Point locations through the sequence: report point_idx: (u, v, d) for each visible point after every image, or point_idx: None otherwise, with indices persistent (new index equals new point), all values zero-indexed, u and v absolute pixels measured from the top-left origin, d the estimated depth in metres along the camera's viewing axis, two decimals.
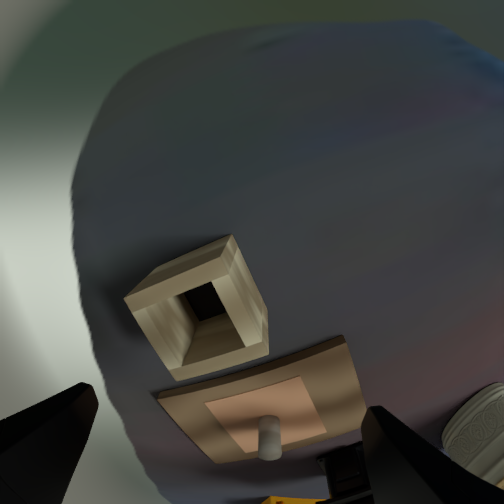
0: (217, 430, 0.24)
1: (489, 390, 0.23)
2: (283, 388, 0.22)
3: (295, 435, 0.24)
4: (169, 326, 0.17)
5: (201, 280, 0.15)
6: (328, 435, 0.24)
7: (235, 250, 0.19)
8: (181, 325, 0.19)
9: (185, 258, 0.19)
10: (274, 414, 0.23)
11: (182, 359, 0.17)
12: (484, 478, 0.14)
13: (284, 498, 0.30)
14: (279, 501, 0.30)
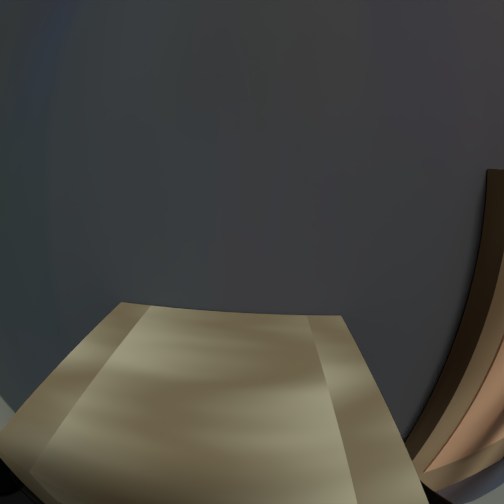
0: (472, 458, 0.09)
1: None
2: None
3: None
4: None
5: None
6: None
7: (128, 330, 0.06)
8: None
9: None
10: None
11: None
12: None
13: None
14: None
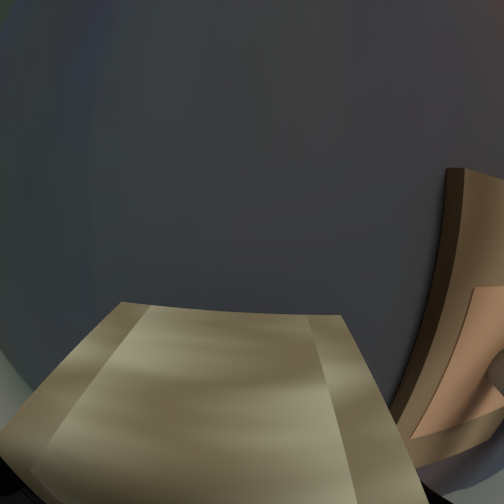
0: (457, 431, 0.11)
1: None
2: (474, 324, 0.09)
3: None
4: None
5: None
6: None
7: (128, 329, 0.06)
8: None
9: None
10: (496, 352, 0.09)
11: None
12: None
13: None
14: None
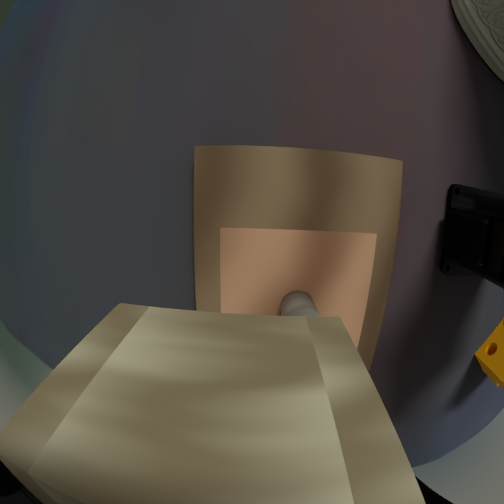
0: None
1: None
2: (236, 259, 0.16)
3: (355, 282, 0.16)
4: None
5: None
6: (388, 233, 0.16)
7: (126, 331, 0.06)
8: None
9: None
10: (284, 292, 0.16)
11: None
12: None
13: (490, 337, 0.19)
14: (490, 346, 0.19)
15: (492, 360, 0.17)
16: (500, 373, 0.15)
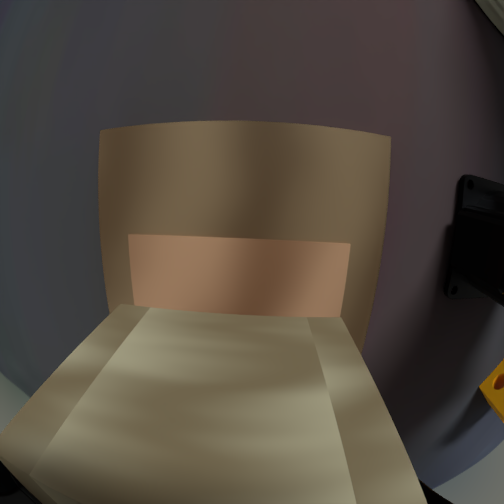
0: None
1: None
2: (150, 275, 0.11)
3: (317, 311, 0.12)
4: None
5: None
6: (369, 243, 0.11)
7: (127, 332, 0.06)
8: None
9: None
10: None
11: None
12: None
13: (499, 367, 0.14)
14: (498, 378, 0.14)
15: (499, 396, 0.12)
16: None
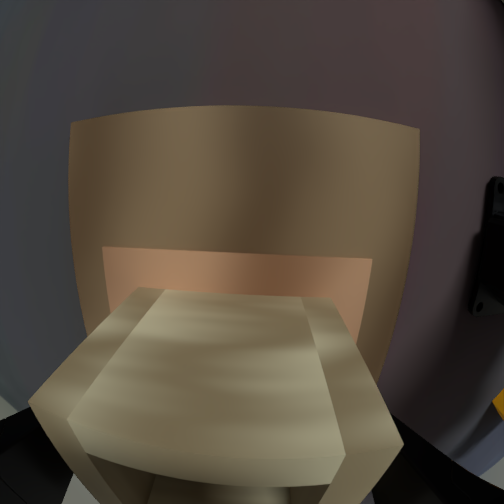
0: None
1: None
2: None
3: None
4: (217, 503, 0.06)
5: (84, 461, 0.04)
6: (394, 258, 0.09)
7: (147, 308, 0.08)
8: None
9: None
10: None
11: None
12: None
13: None
14: None
15: None
16: None
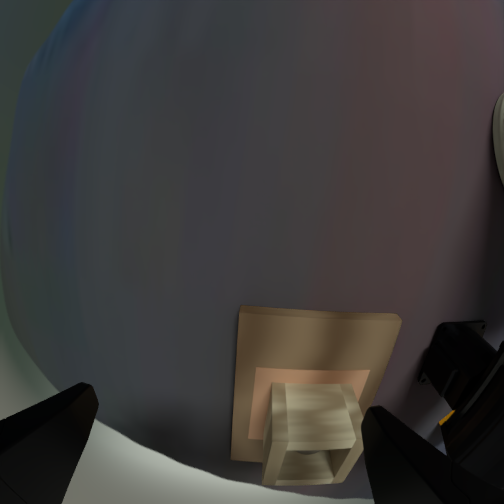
0: None
1: (498, 119, 0.14)
2: (265, 385, 0.20)
3: None
4: (303, 465, 0.17)
5: (281, 454, 0.15)
6: (379, 368, 0.20)
7: (284, 395, 0.19)
8: None
9: (267, 426, 0.19)
10: None
11: (331, 472, 0.16)
12: None
13: (454, 410, 0.22)
14: None
15: None
16: None
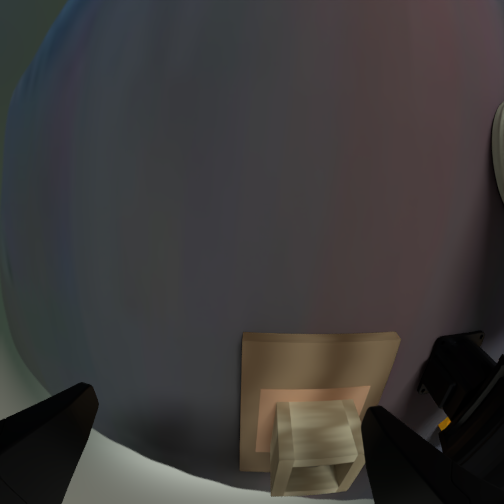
0: None
1: (498, 132, 0.14)
2: (270, 404, 0.20)
3: None
4: (309, 477, 0.17)
5: (288, 470, 0.15)
6: (379, 384, 0.20)
7: (289, 414, 0.19)
8: None
9: (273, 442, 0.19)
10: None
11: (335, 482, 0.16)
12: None
13: None
14: None
15: None
16: None
